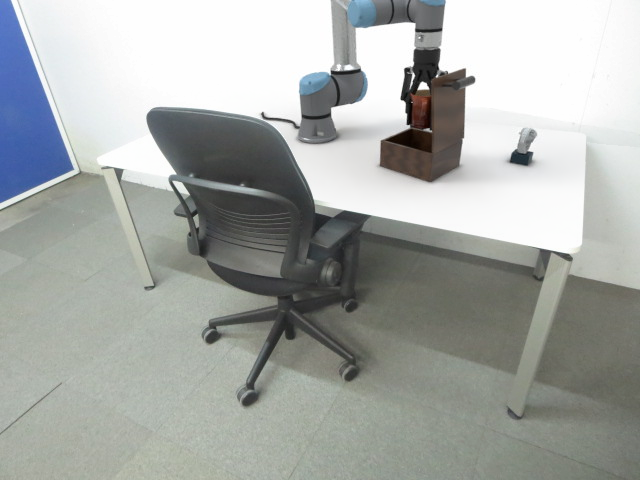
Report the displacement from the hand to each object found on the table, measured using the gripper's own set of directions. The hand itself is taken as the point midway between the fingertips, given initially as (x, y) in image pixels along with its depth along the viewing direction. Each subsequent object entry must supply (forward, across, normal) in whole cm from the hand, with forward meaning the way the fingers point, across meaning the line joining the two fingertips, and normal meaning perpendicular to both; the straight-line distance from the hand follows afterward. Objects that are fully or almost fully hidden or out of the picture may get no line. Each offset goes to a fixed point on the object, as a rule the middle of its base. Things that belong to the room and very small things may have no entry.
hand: (421, 126), depth 133 cm
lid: (-6, +9, 0) cm, 11 cm away
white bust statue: (+13, +23, +24) cm, 36 cm away
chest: (+13, 0, 0) cm, 13 cm away
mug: (0, +1, 0) cm, 1 cm away
